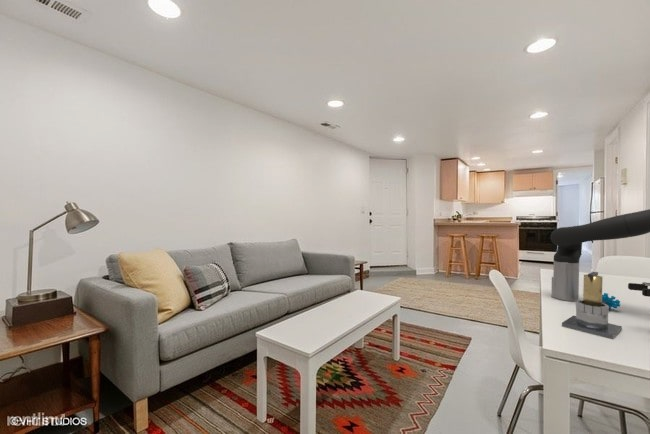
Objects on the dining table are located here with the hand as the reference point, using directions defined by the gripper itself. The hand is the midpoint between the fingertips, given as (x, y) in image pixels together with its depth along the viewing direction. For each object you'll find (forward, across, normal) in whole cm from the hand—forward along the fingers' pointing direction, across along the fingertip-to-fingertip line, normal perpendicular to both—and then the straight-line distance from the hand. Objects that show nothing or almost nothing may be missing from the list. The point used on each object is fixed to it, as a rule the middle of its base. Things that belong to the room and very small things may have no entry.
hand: (635, 289), depth 97 cm
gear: (-2, -29, +15) cm, 33 cm away
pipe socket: (+11, 0, +15) cm, 18 cm away
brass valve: (+11, 0, +9) cm, 14 cm away
